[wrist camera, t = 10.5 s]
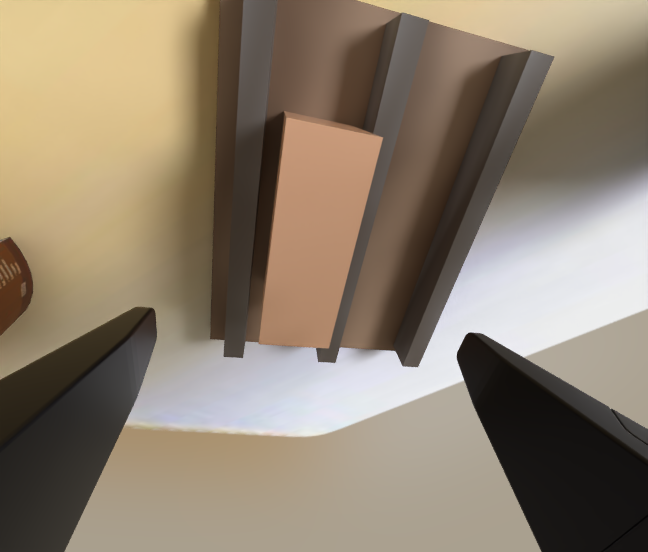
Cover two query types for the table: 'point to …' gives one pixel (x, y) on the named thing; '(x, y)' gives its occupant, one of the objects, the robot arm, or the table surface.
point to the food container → (13, 283)
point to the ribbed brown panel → (392, 164)
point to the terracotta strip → (314, 227)
